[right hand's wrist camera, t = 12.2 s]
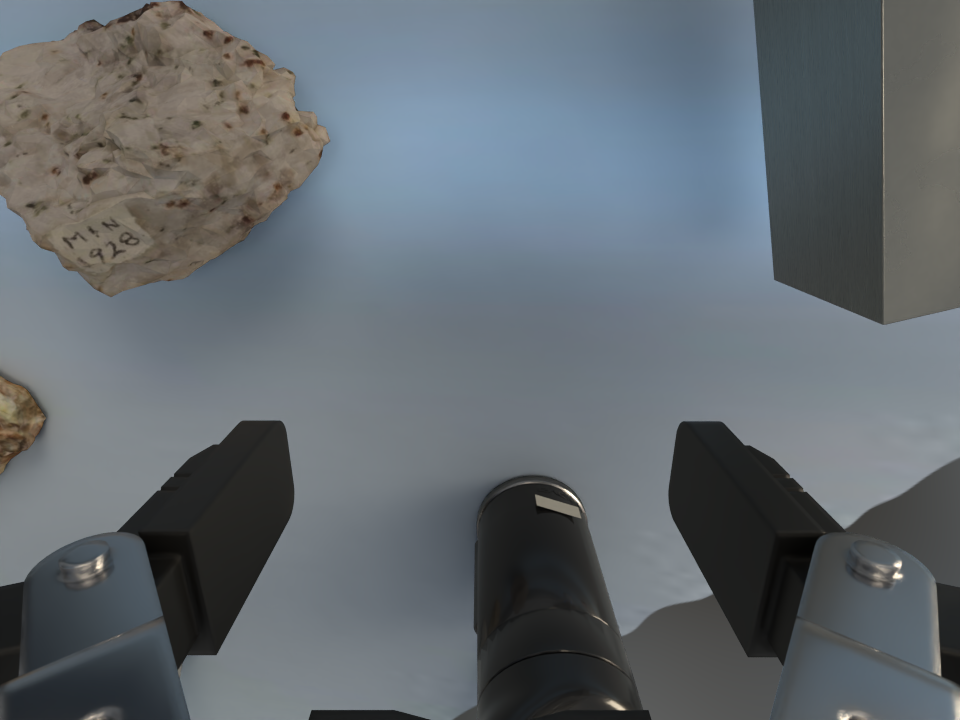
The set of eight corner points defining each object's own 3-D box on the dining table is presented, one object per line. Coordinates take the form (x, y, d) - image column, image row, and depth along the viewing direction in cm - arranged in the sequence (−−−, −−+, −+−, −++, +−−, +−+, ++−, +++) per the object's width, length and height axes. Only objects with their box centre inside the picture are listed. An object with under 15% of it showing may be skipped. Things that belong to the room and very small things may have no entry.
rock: (64, 359, 30) (48, 152, 20) (-68, 143, 33) (-145, -143, 22) (293, 291, 41) (362, 132, 30) (180, 131, 43) (207, -67, 33)
